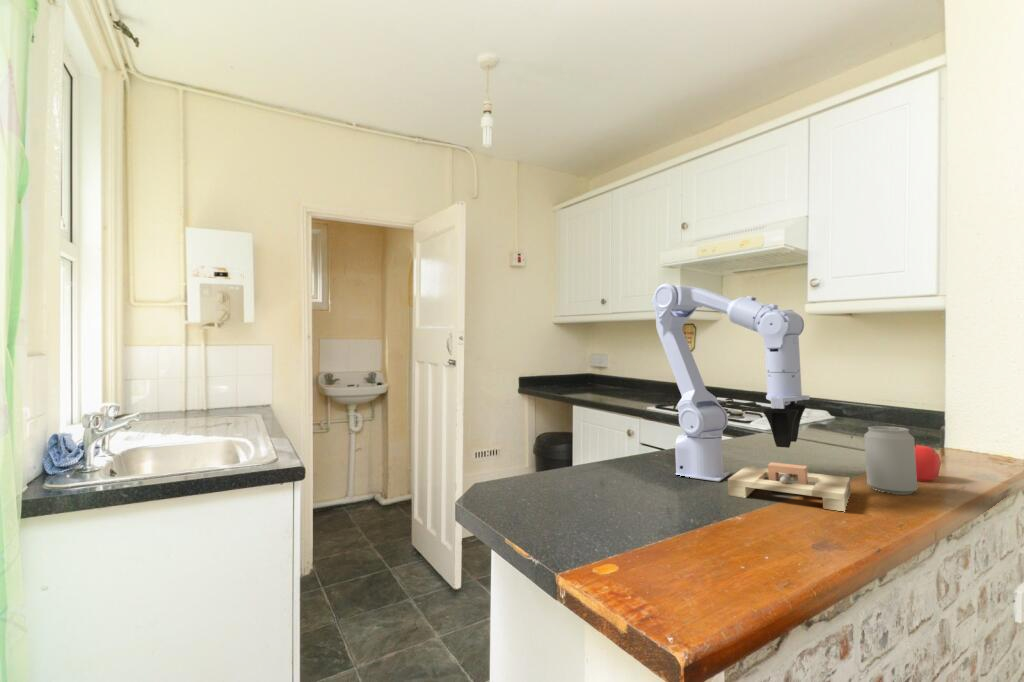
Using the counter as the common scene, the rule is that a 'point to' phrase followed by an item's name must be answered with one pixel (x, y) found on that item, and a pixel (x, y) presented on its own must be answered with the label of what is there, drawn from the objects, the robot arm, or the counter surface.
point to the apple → (926, 463)
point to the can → (890, 460)
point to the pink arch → (788, 471)
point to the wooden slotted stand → (792, 486)
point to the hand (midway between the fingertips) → (786, 444)
